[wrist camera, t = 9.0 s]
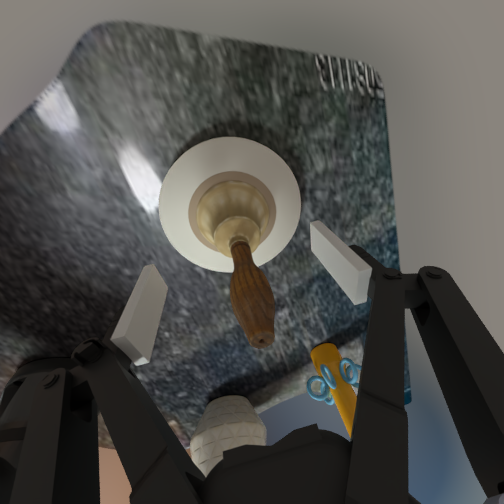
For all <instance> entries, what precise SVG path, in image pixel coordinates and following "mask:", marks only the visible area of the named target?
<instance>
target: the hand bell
mask: <svg viewBox="0 0 504 504" xmlns="http://www.w3.org/2000/svg"><path fill="white" fill-rule="evenodd" d="M196 221H197V225H198V228H199V230H200V232H201V234H202V235H203V236H204V237H205V239H206V240H208V241H209V242H210V243H211V244H213V245H215V246H216V248H217V249H218V251H219V252H220V253H221V254H223V255H225V256H226V257H229V258H232V259H233V263H234V271H233V274H232V277H231V282H230V297H231V304H232V308H233V311H234V314H235V316H236V318H237V320H238V322H239V324H240V325H241V327H242V328H243V330H244V332H245V334H246V336H247V338H248V341H249V343H250V345H251V346H252V347H255V348H258V349H261V348H265V347H267V346H269V345H271V344H272V343H273V342H274V338H275V335H274V316H275V303H274V296H273V293H272V290H271V287H270V285H269V283H268V280H267V279H266V277H265V275H264V274H263V272H262V271H261V270H260V269H259V268H258V267H257V266H256V265H255V263H254V261H253V258H252V253H253V252H254V251H255V250H256V249H257V248H258V246H259V244H260V240H261V236H262V235H263V234H264V232H265V230H266V228H267V226H268V222H269V207H268V203H267V201H266V199H265V197H264V196H263V194H262V193H261V192H260V191H259V190H258V189H257V188H255V187H254V186H252V185H250V184H248V183H246V182H242V181H236V180H230V181H224V182H220V183H218V184H216V185H214V186H212V187H211V188H209V189H208V190H207V191H206V192H205V193H204V194H203V196H202V197H201V199H200V200H199V203H198V205H197V210H196Z"/></svg>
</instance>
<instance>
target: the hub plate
mask: <svg viewBox="0 0 504 504" xmlns="http://www.w3.org/2000/svg"><path fill="white" fill-rule="evenodd" d="M230 180H236V181H242V182H246V183H248V184H250V185H252V186H254V187H255V188H257V189H258V190H259V191H260V192H261V193H262V194H263V196H264V197H265V199H266V201H267V203H268V207H269V222H268V226H267V228H266V230H265V232H264V234H263V235H262V236H261V240H260V244H259V246H258V248H257V249H256V250H255V251H254V252H253V253H252V258H253V261H254V263H255V265H256V266H257V267H258V266H260V265H263V264H264V263H266V262H268V261H270V260H271V259H272V258H274V257H275V256H276V255H277V254H279V253H280V252H281V251H282V250H283V249H284V247H285V246H286V245H287V244H288V242H289V241H290V240H291V238H292V236H293V234H294V232H295V230H296V228H297V225H298V221H299V218H300V211H301V198H300V191H299V187H298V184H297V181H296V179H295V177H294V174H293V173H292V171H291V170H290V168H289V166H288V165H287V164H286V163H285V162H284V160H283V159H282V158H281V157H280V156H278V155H277V154H276V153H275V152H274V151H272V150H271V149H269V148H268V147H266V146H264V145H262V144H260V143H258V142H255V141H253V140H250V139H246V138H241V137H234V136H227V137H217V138H212V139H209V140H206V141H203V142H201V143H199V144H197V145H195V146H193V147H191V148H190V149H189V150H187V151H186V152H185V153H184V154H183V155H181V156H180V157H179V158H178V159H177V160H176V162H175V163H174V164H173V165H172V167H171V168H170V169H169V171H168V173H167V175H166V177H165V179H164V181H163V184H162V187H161V190H160V196H159V215H160V220H161V224H162V227H163V229H164V232H165V234H166V236H167V238H168V239H169V241H170V242H171V244H172V245H173V246H174V248H175V249H176V250H177V251H178V252H179V253H180V254H181V255H183V256H184V257H185V258H186V259H188V260H189V261H191V262H193V263H194V264H196V265H198V266H201V267H203V268H206V269H209V270H213V271H219V272H233V271H234V263H233V259H232V258H229V257H226V256H225V255H223V254H221V253H220V252H219V251H218V249H217V248H216V246H215V245H213V244H211V243H210V242H209V241H208V240H206V239H205V237H204V236H203V235H202V234H201V232H200V230H199V228H198V225H197V221H196V210H197V205H198V203H199V200H200V199H201V197H202V196H203V194H204V193H205V192H206V191H207V190H208V189H209V188H211V187H212V186H214V185H216V184H218V183H220V182H224V181H230Z"/></svg>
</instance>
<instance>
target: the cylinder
mask: <svg viewBox="0 0 504 504" xmlns="http://www.w3.org/2000/svg"><path fill="white" fill-rule="evenodd" d="M310 356H311V359H312V361H313V363H314V366H315V368H316V371H317V373H318V375H319V376H312V377H311V378H310V379H309V380H308V382H307V391H308V393H309V395H310V396H311V397H312V398H314V399H316V400H324V401H325V402H326V403H327V404H329V405H332V404H334V403H336V405H337V408H338V410H339V412H340V415H341V417H342V419H343V422H344V424H345V426H346V429H347V431H348V433H349V436H350V438H351V432H352V426H353V420H354V414H355V408H356V401H357V396H356V394H355V392H354V390H353V388H352V386H351V385H353V386H354V387H357V388H359V383H356V381H357V378H358V371H357V369H359V370H361V368H362V366H360V365H357V364H354V362H353V361H352V360H351V359H349V358H342V357H341V355H340V353H339V351H338V349H337V347H336V346H335V345H334V344H332V343H324V344H321V345H318V346H316V347H315V348H314V349H313V350H312V351H311V353H310ZM346 362H347V363H349V364H350V365H349V366H348V367H347V368H346V365H345V363H346ZM351 370H353V377H352V379H351V378H350V375H349V373H350V371H351ZM315 380H319V381H321V382H322V383H321V394H322V395H315V394H314V393H313V392H312V390H311V383H312V382H313V381H315ZM324 388H325V390H324ZM329 389H330V392H331V394H332V398H331V400H328V398H327V397H328V395H329Z"/></svg>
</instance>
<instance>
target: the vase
mask: <svg viewBox="0 0 504 504" xmlns="http://www.w3.org/2000/svg"><path fill="white" fill-rule="evenodd" d="M246 444H248V445H263V446H266V428H265V425H264V424H263V422H262V421H261V419H260V418H259V417H258V414H257V413H256V411H255V410H254V408H253V407H252V405H251V403H250V402H249V400H248V399H247V398H246V397H243V396H240V395H228V396H223V397H219V398H217V399H214V400H213V401H211V402H210V403H209V404H208V405H207V406H206V408H205V411H204V413H203V415H202V417H201V419H200V421H199V423H198V426H197V428H196V430H195V432H194V434H193V436H192V438H191V442H190V449H191V456H192V461H193V462H194V464H195V465H196V466H197V467H198V468H199V469H200V470H201V472H202V473H203V474H204V475H205V477H207V475H208V474H209V472H210V471H211V470H212V469H213V467H214V466H215V465H216V464H217V463H218V462H219V461H221V460H222V459H223V451H225V450H229V449H232V448H236V447H239V446H242V445H246Z"/></svg>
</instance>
